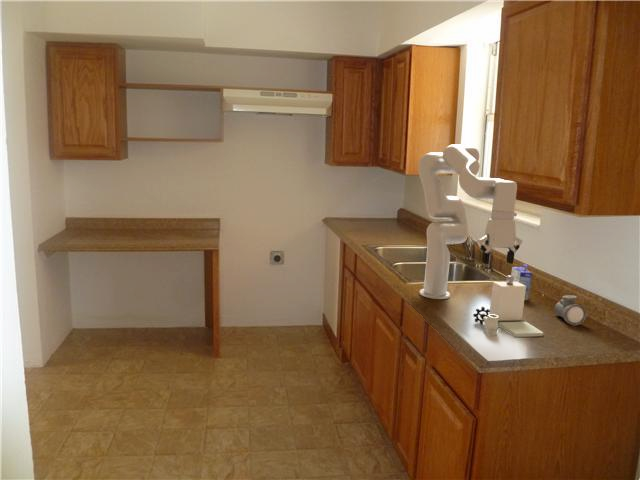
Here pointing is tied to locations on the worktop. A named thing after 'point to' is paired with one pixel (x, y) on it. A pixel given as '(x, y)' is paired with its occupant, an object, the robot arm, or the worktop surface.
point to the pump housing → (508, 300)
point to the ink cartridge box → (522, 277)
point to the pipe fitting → (570, 310)
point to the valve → (488, 321)
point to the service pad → (520, 329)
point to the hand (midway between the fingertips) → (497, 263)
